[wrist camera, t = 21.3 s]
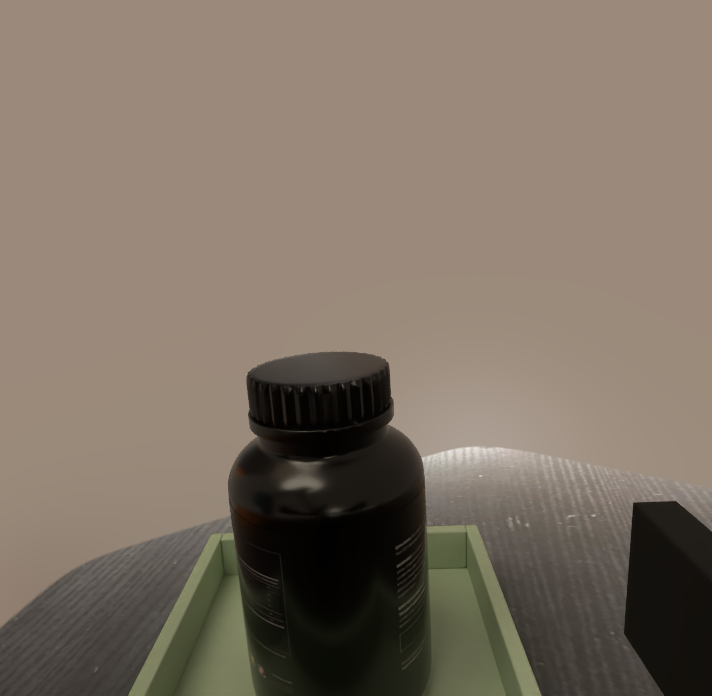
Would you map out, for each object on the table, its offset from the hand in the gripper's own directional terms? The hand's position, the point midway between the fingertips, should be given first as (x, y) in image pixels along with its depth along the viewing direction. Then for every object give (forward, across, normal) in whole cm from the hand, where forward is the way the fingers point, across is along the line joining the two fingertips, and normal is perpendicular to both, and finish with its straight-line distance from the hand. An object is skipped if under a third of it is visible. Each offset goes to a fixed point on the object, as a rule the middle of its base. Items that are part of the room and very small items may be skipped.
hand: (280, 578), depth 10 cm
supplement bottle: (+8, 0, -10) cm, 13 cm away
